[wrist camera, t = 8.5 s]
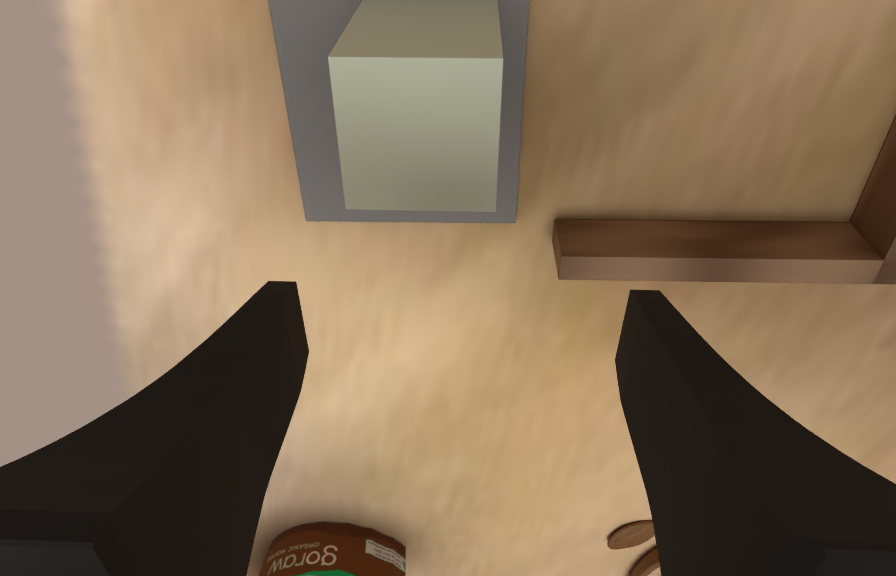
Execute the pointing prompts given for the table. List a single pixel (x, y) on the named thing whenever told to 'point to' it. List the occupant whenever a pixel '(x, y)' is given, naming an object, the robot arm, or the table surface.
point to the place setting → (636, 536)
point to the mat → (313, 120)
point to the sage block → (419, 105)
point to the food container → (334, 552)
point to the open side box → (742, 244)
